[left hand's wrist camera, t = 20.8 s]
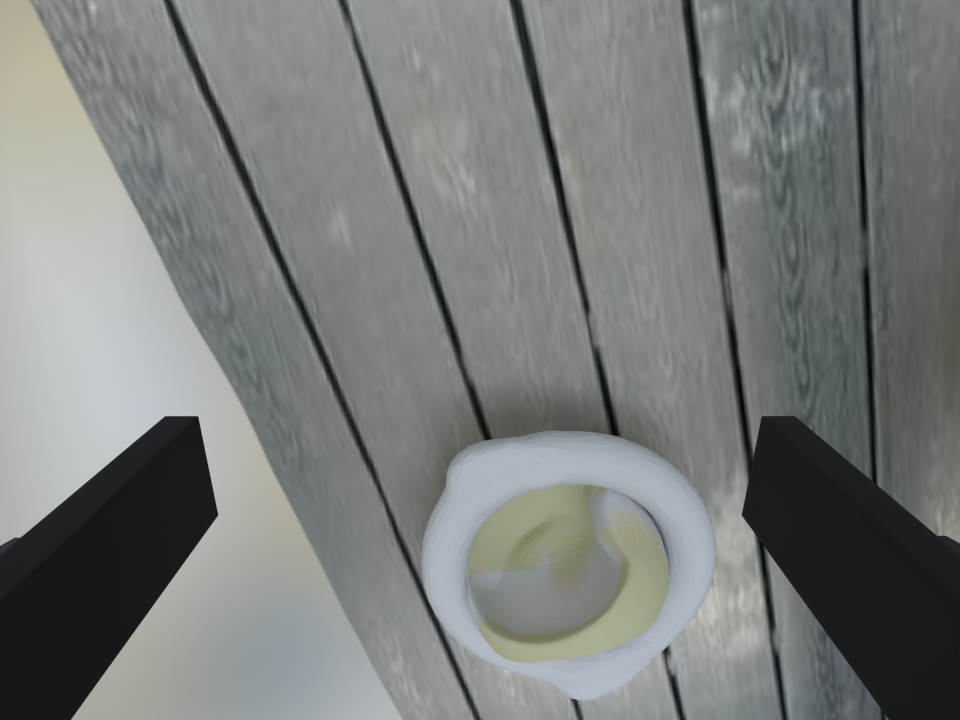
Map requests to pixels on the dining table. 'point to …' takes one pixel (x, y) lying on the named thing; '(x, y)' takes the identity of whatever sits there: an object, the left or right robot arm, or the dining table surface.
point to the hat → (567, 557)
